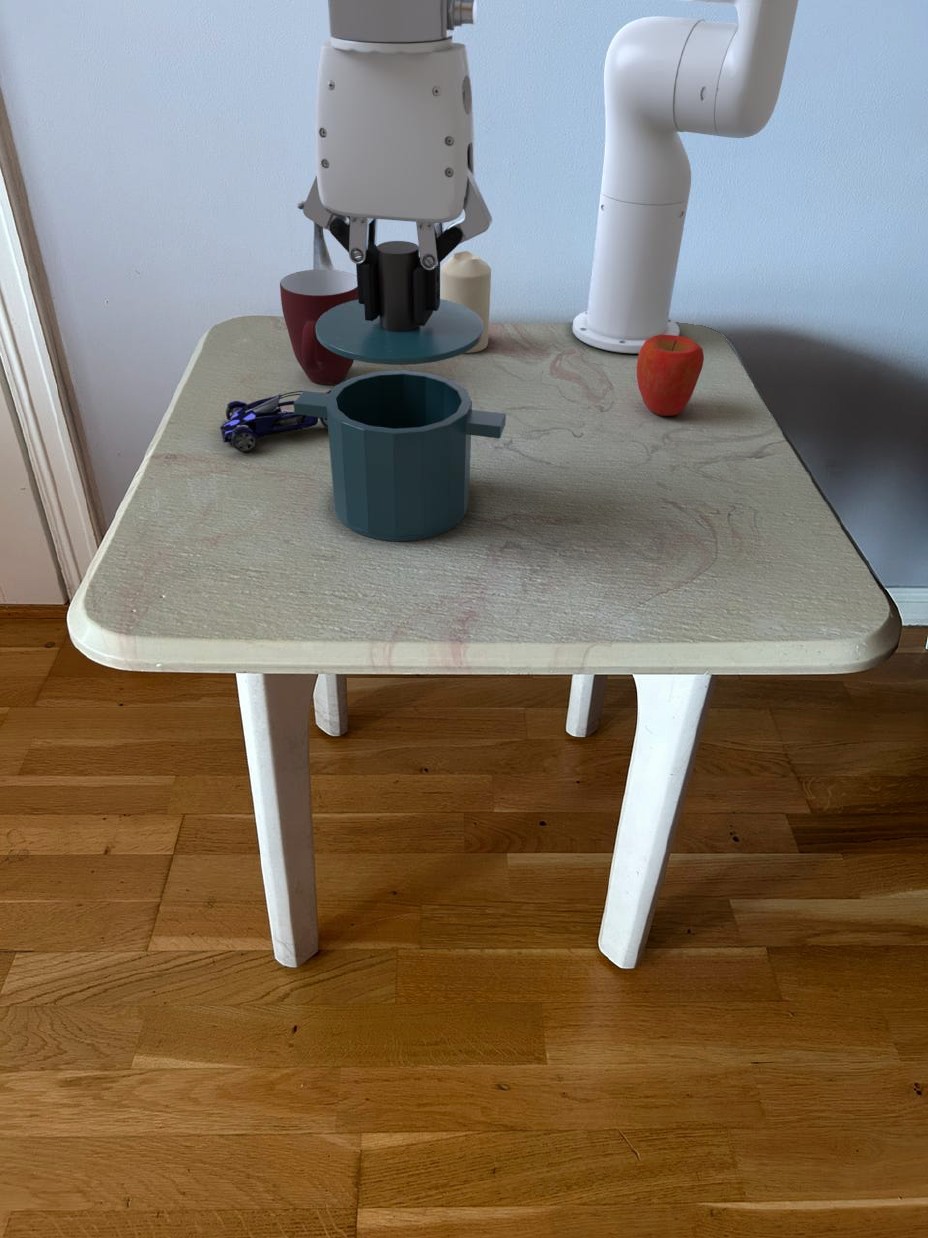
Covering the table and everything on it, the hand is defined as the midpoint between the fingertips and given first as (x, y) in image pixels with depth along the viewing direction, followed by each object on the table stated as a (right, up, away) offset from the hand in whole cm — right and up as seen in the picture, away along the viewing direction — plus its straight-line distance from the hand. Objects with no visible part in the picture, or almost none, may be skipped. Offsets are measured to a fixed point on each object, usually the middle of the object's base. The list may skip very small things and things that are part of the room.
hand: (399, 314), depth 66 cm
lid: (0, -1, +1) cm, 1 cm away
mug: (-10, +2, +29) cm, 31 cm away
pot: (-1, -13, +10) cm, 16 cm away
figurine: (-10, +9, +37) cm, 39 cm away
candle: (+5, +9, +38) cm, 39 cm away
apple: (+25, -1, +25) cm, 36 cm away
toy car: (-12, -5, +20) cm, 24 cm away
